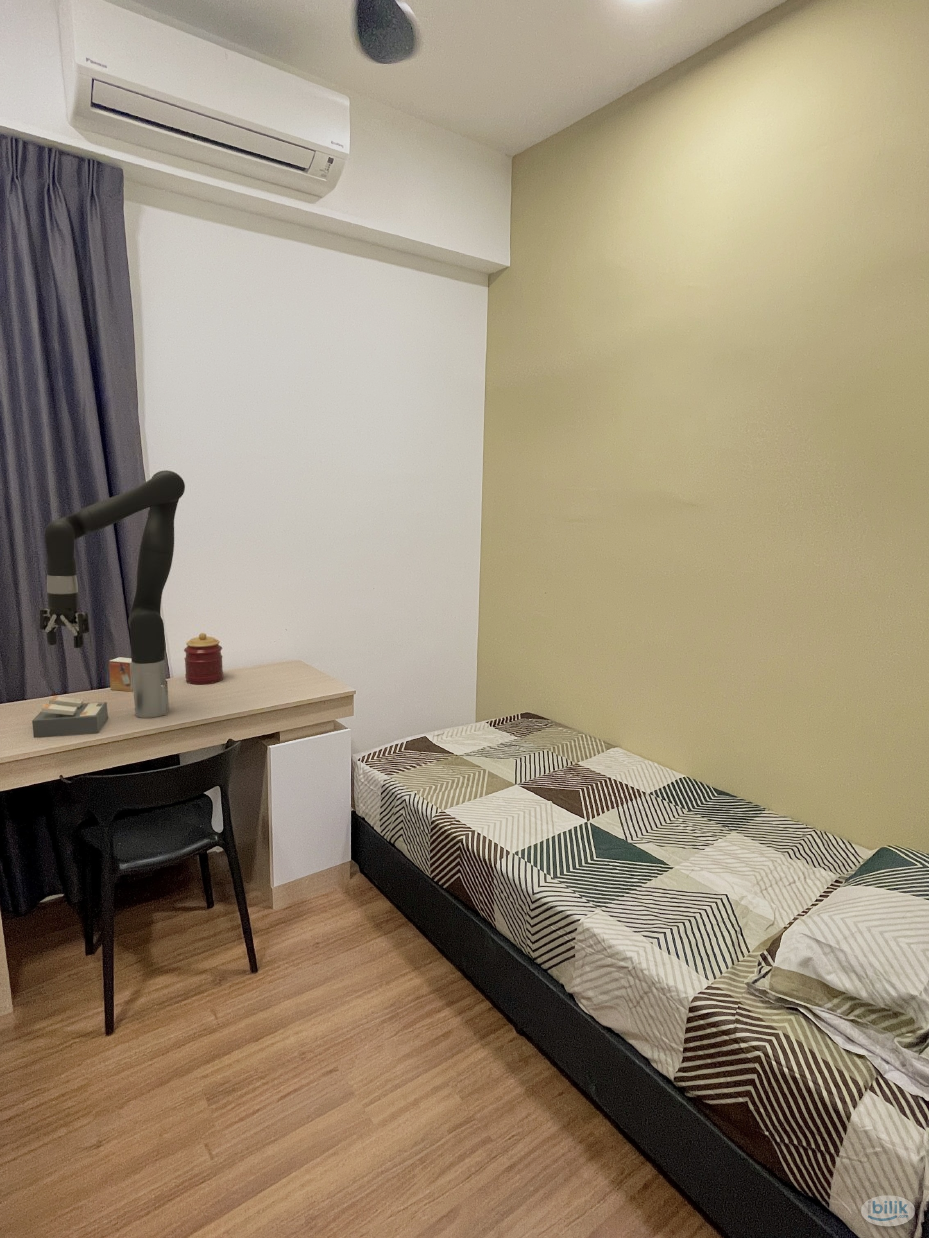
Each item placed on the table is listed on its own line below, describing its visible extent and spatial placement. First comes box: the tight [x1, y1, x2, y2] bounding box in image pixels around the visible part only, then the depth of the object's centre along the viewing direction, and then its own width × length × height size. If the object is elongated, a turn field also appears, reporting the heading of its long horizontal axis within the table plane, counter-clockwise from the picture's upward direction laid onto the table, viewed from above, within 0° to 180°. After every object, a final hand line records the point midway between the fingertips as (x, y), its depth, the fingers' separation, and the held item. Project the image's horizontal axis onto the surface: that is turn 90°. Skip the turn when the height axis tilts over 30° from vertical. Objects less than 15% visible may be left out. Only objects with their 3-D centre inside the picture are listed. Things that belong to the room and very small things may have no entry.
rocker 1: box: [48, 695, 84, 707], centre depth 191 cm, size 8×4×1 cm, turn 108°
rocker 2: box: [40, 703, 77, 715], centre depth 184 cm, size 8×4×1 cm, turn 108°
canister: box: [183, 632, 224, 685], centre depth 237 cm, size 13×13×18 cm
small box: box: [108, 656, 134, 693], centre depth 224 cm, size 8×6×10 cm
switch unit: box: [31, 701, 109, 739], centre depth 189 cm, size 16×13×6 cm
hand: (65, 646), depth 188 cm, fingers open, 8 cm apart
